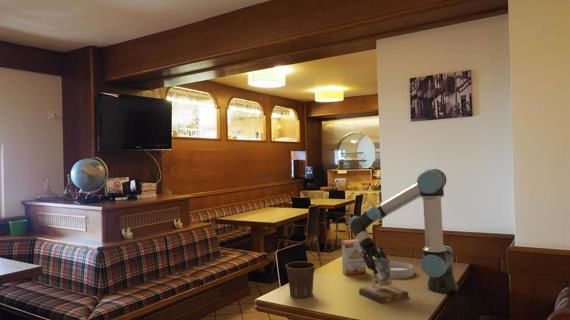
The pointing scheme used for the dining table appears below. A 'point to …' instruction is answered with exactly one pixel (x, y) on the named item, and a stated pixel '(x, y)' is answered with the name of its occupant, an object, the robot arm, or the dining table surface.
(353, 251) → the cracker box
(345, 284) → the dining table surface
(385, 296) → the block
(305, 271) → the plant pot
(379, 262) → the grey upright cylinder
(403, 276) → the dish
